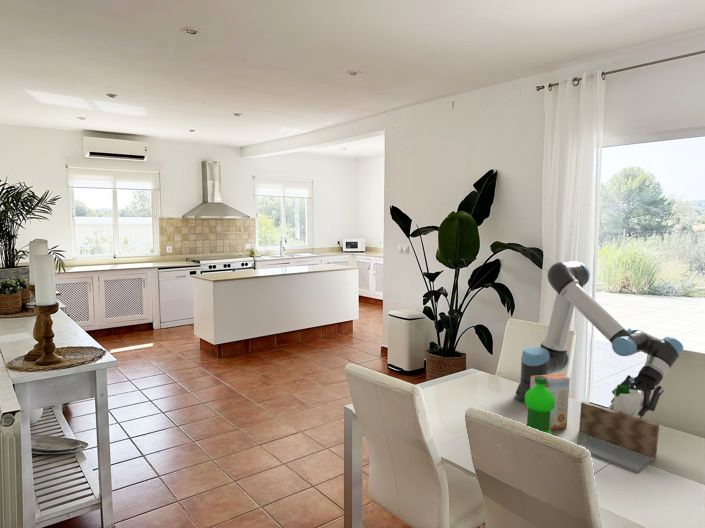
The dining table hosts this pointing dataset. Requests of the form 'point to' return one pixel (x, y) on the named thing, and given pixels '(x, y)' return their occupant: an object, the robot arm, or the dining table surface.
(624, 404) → the soya milk
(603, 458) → the slate mat
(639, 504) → the dining table surface
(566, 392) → the cracker box
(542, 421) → the plastic bottle
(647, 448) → the walnut screen
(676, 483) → the dining table surface
